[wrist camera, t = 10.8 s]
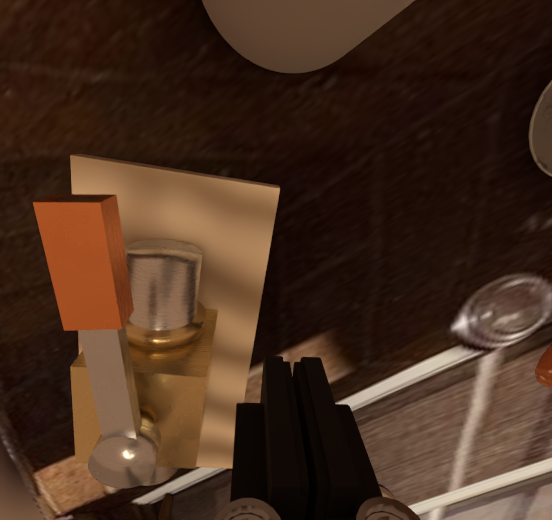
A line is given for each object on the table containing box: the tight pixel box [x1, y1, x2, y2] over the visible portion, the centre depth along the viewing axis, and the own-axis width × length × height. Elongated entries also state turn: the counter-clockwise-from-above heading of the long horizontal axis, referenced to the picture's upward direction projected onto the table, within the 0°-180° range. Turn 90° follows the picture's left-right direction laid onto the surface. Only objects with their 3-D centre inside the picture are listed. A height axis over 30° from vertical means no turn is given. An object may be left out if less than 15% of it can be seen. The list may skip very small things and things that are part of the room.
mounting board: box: [70, 154, 280, 468], centre depth 30 cm, size 30×15×2 cm, turn 171°
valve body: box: [70, 239, 218, 486], centre depth 25 cm, size 20×8×10 cm, turn 171°
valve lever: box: [33, 194, 162, 488], centre depth 17 cm, size 17×4×2 cm, turn 0°
